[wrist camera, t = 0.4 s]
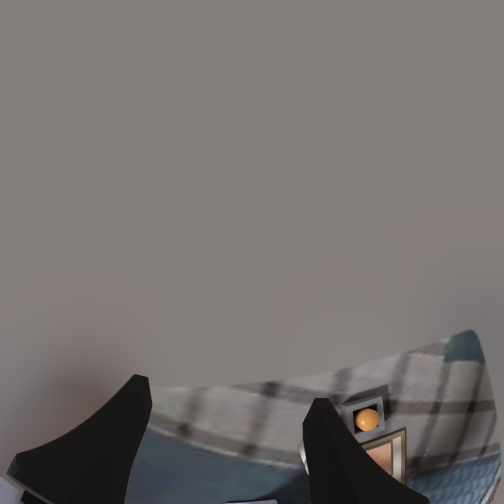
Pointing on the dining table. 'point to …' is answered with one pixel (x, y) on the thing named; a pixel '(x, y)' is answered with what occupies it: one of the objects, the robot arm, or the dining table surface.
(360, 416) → the button
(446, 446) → the dining table surface
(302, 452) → the white and green cylinder
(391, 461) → the picture board
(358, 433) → the button housing
